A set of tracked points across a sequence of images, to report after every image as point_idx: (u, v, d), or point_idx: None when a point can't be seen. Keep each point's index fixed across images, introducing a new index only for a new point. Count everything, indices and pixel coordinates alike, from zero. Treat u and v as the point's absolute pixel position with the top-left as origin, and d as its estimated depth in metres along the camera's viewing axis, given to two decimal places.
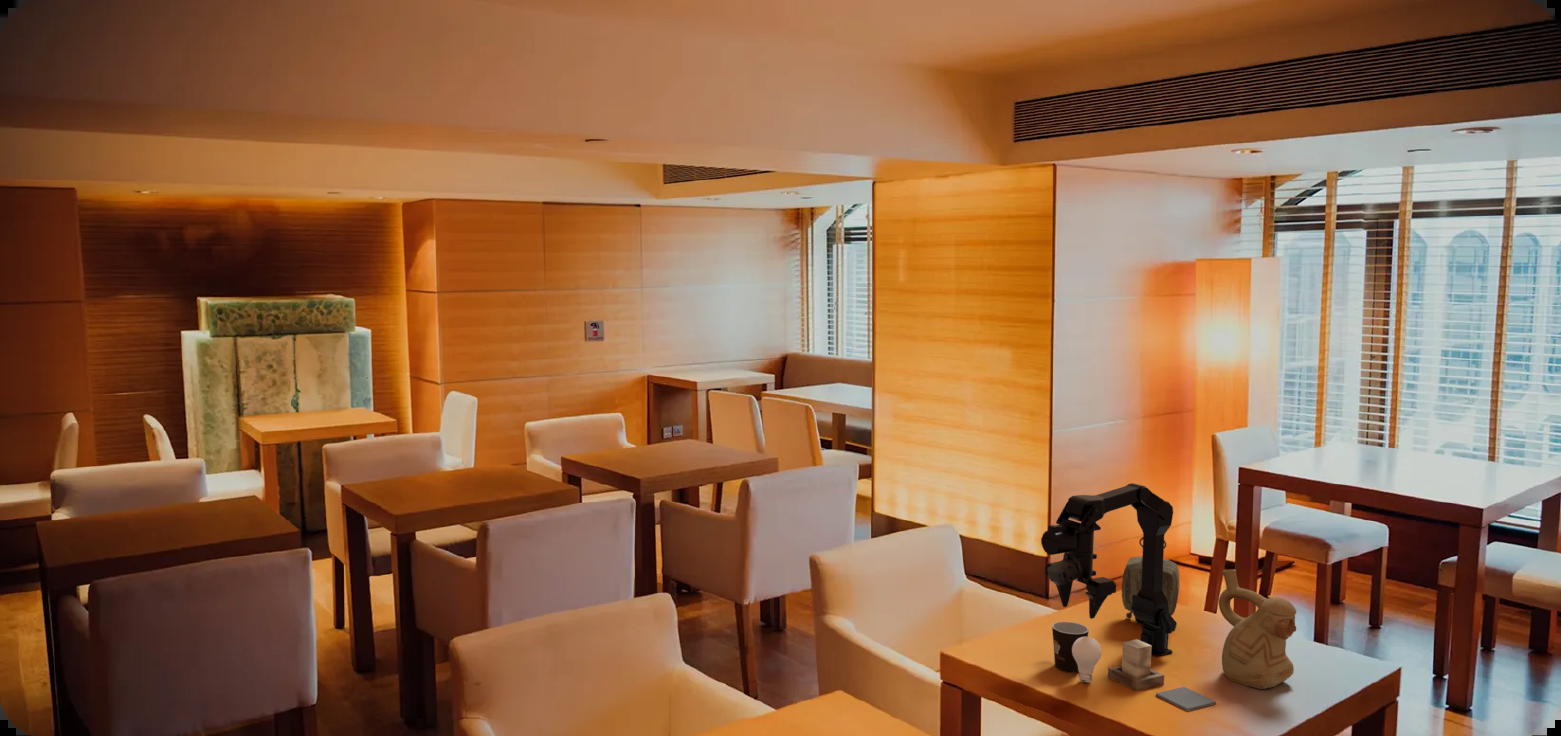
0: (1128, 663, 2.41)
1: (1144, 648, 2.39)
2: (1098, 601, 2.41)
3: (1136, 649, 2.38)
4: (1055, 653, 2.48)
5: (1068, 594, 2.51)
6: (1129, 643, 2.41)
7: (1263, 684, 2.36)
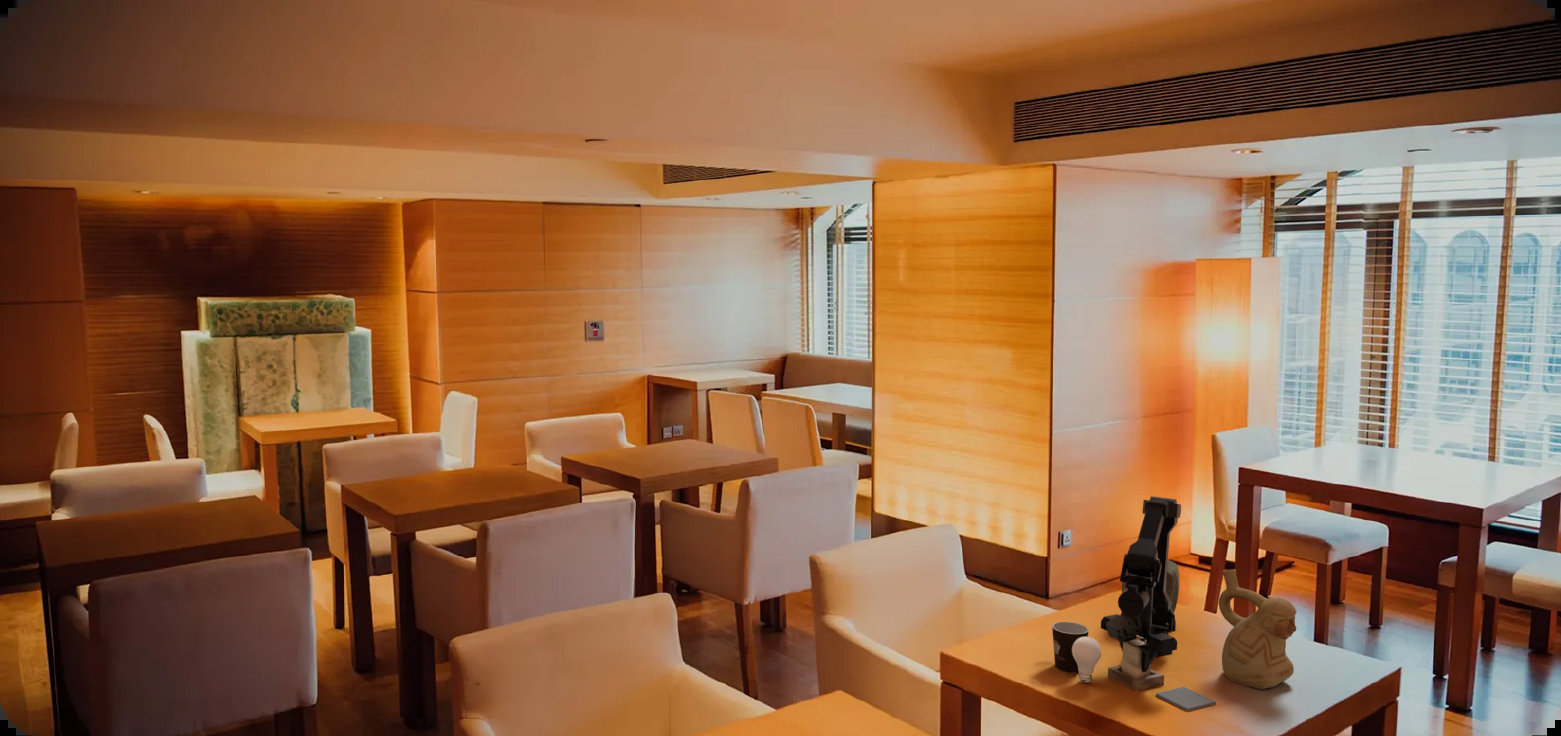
0: (1128, 663, 2.41)
1: None
2: (1151, 654, 2.38)
3: (1136, 649, 2.38)
4: (1055, 653, 2.48)
5: None
6: (1129, 643, 2.41)
7: (1263, 684, 2.36)
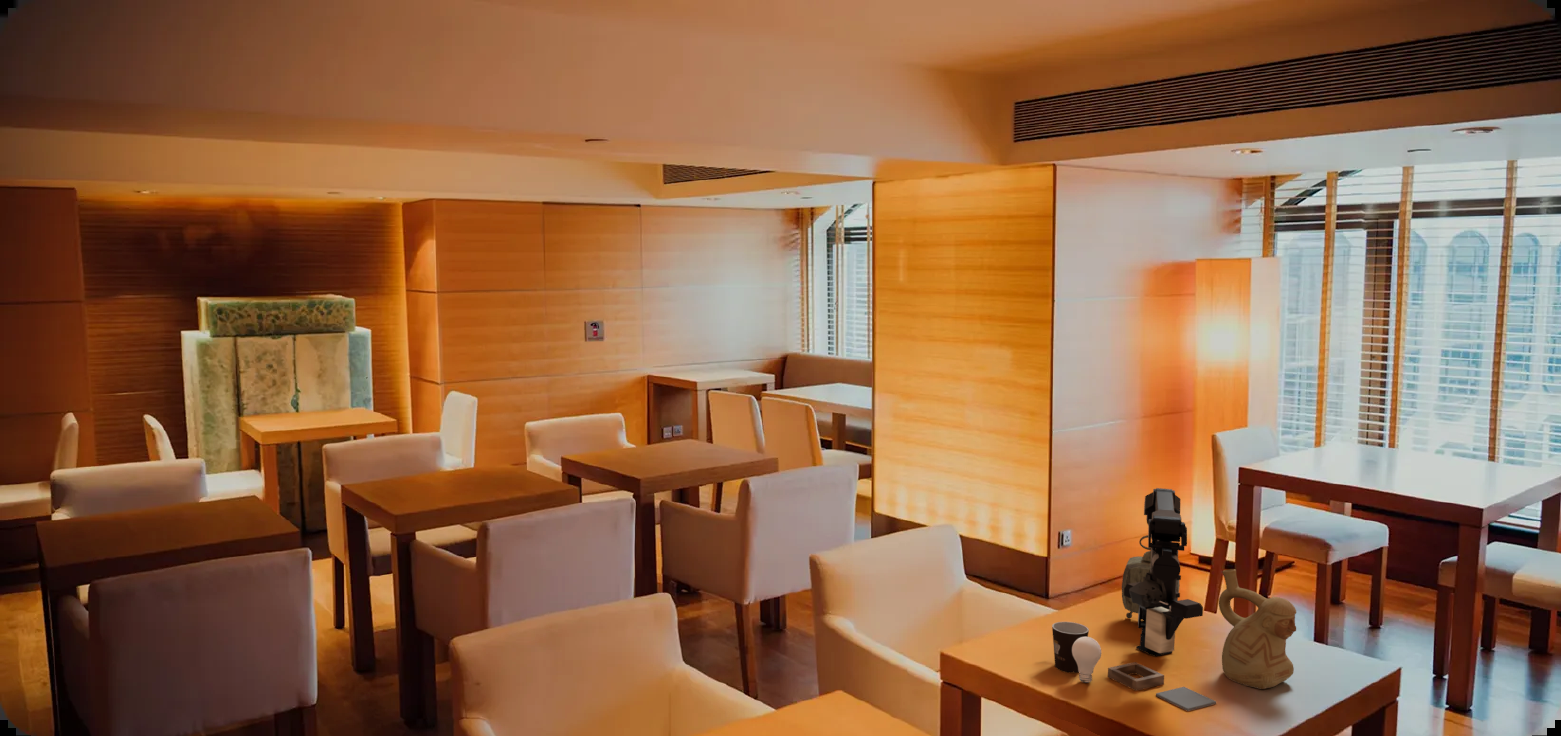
0: (1152, 630, 2.35)
1: None
2: (1175, 621, 2.32)
3: (1160, 616, 2.32)
4: (1055, 653, 2.48)
5: None
6: (1153, 610, 2.35)
7: (1263, 684, 2.36)
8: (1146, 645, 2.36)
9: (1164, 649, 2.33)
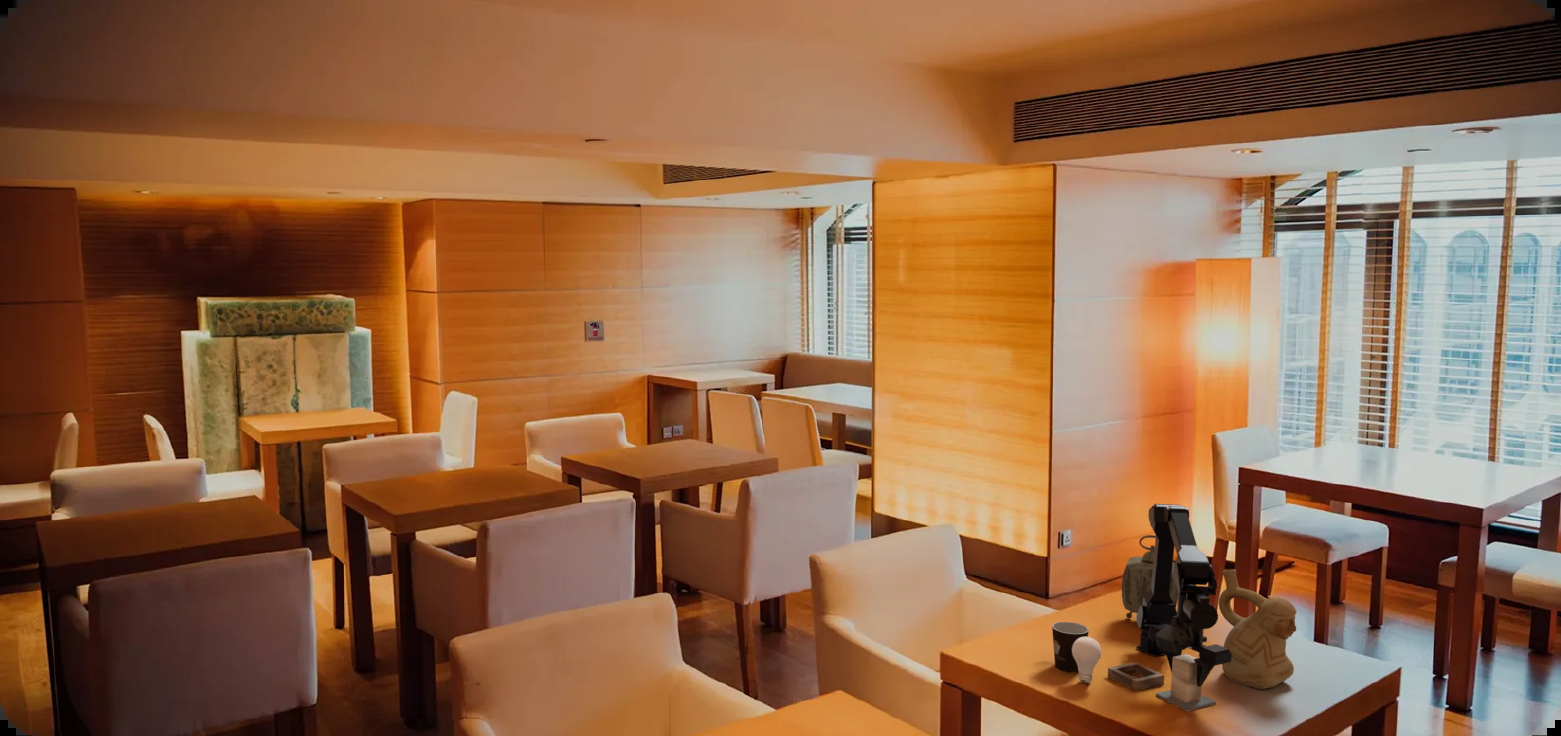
0: (1178, 679, 2.30)
1: (1195, 663, 2.28)
2: (1207, 668, 2.26)
3: (1187, 664, 2.28)
4: (1055, 653, 2.48)
5: None
6: (1179, 658, 2.30)
7: (1263, 684, 2.36)
8: (1172, 693, 2.32)
9: (1191, 698, 2.29)
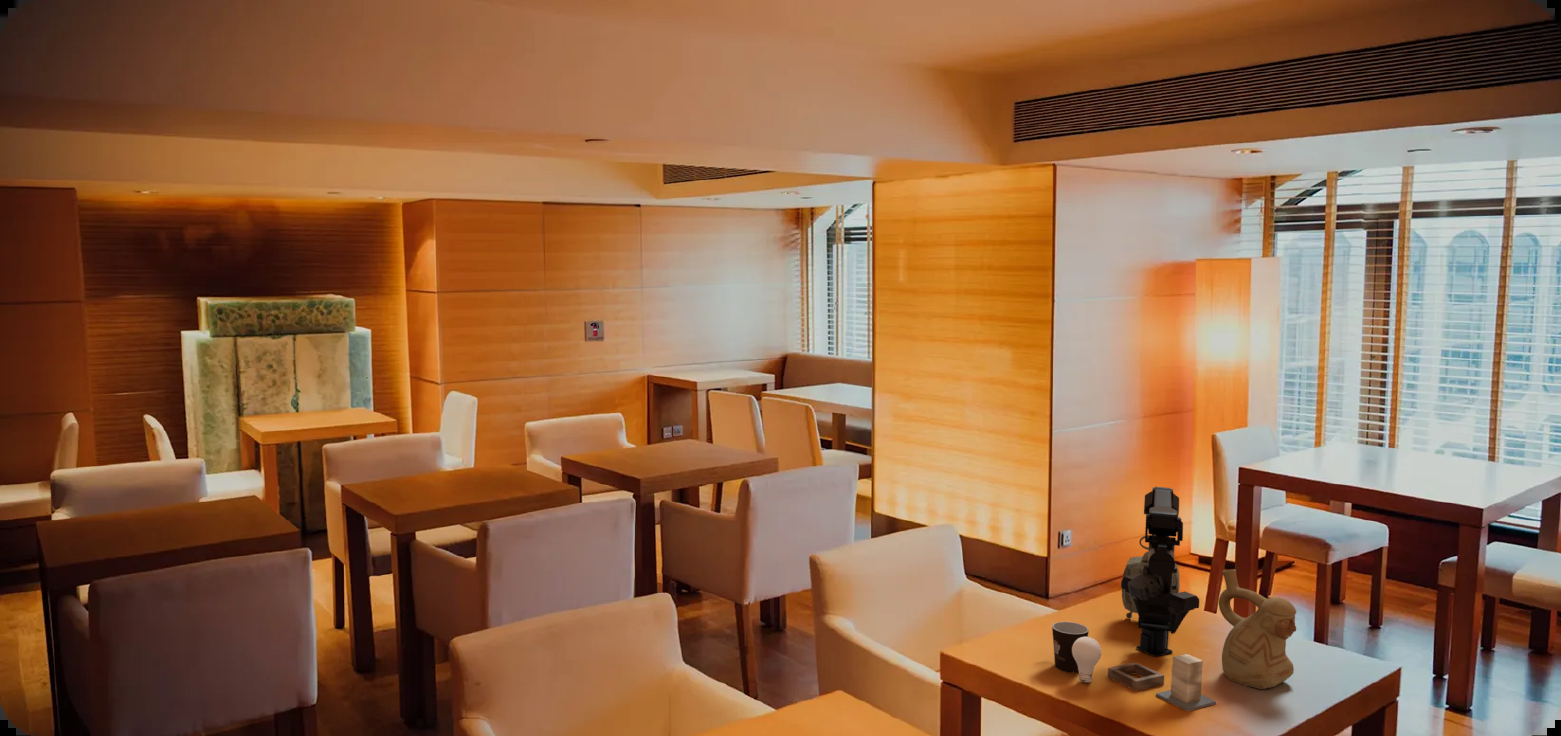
0: (1178, 679, 2.30)
1: (1195, 663, 2.28)
2: (1180, 616, 2.37)
3: (1187, 664, 2.28)
4: (1055, 653, 2.48)
5: (1145, 608, 2.47)
6: (1179, 658, 2.30)
7: (1263, 684, 2.36)
8: (1172, 693, 2.32)
9: (1191, 698, 2.29)
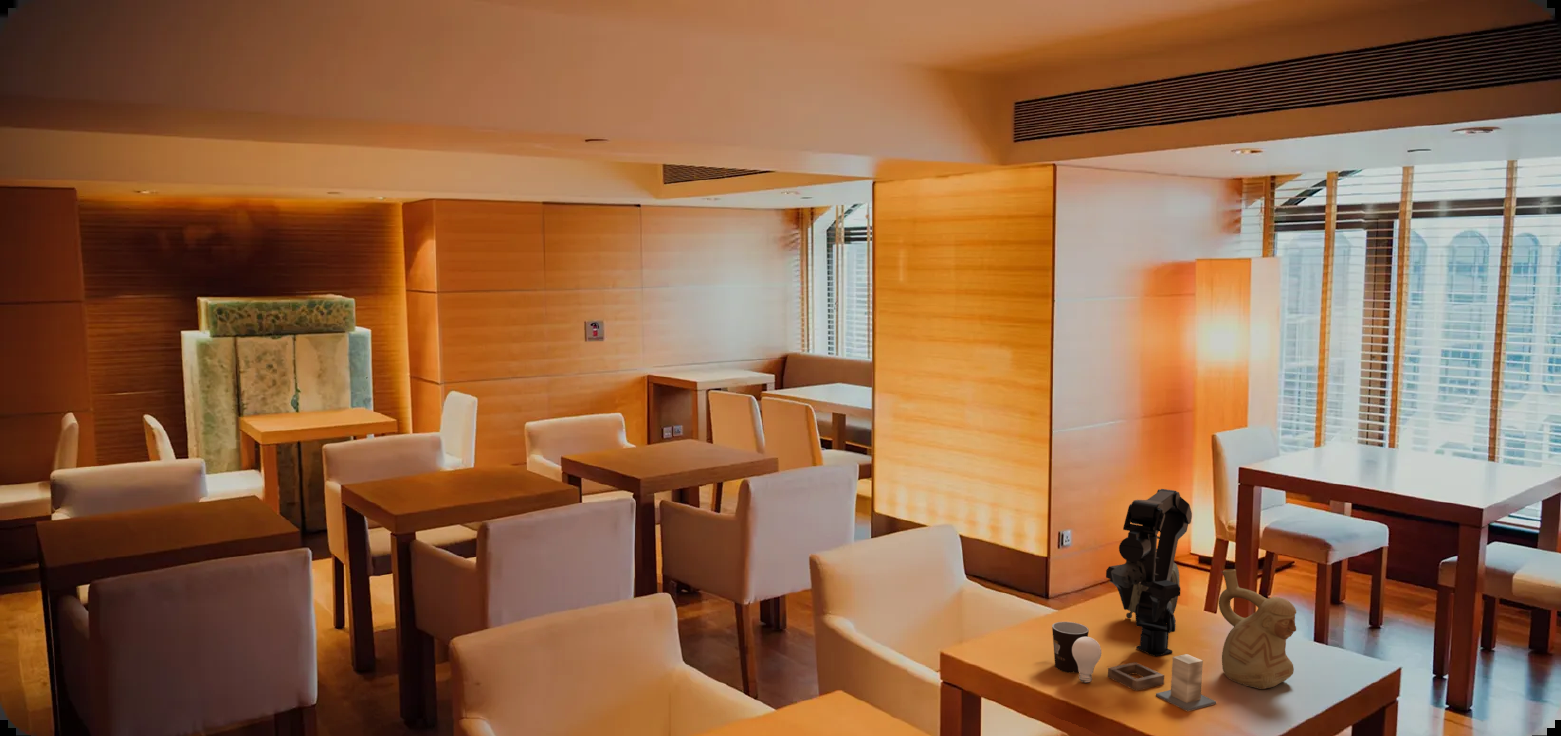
0: (1178, 679, 2.30)
1: (1195, 663, 2.28)
2: (1162, 604, 2.44)
3: (1187, 664, 2.28)
4: (1055, 653, 2.48)
5: (1129, 597, 2.53)
6: (1179, 658, 2.30)
7: (1263, 684, 2.36)
8: (1172, 693, 2.32)
9: (1191, 698, 2.29)
